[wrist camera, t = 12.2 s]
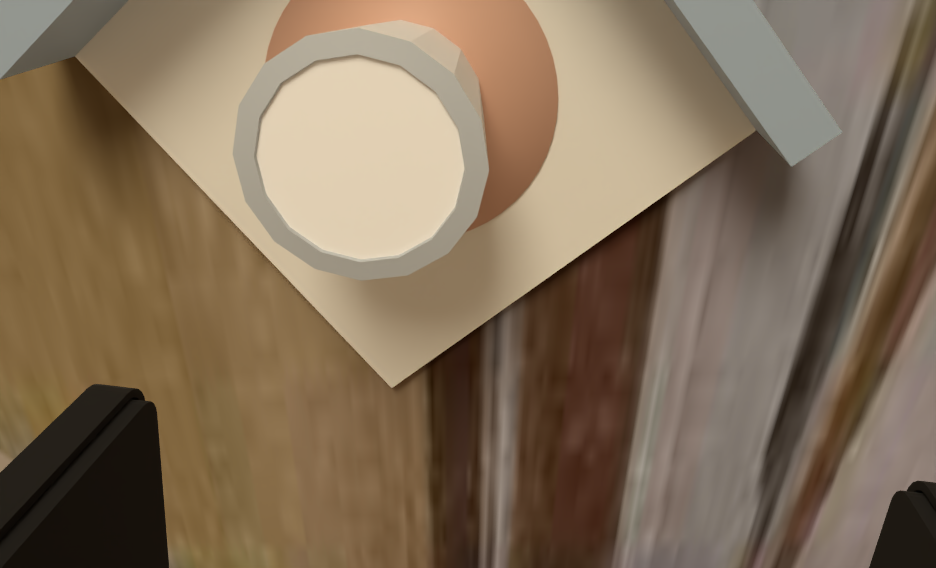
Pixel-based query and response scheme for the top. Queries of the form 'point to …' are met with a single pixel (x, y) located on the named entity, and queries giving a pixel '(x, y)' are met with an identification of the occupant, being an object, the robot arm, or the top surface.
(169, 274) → the top surface
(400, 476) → the top surface
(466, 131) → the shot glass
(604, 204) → the arena
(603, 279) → the top surface
